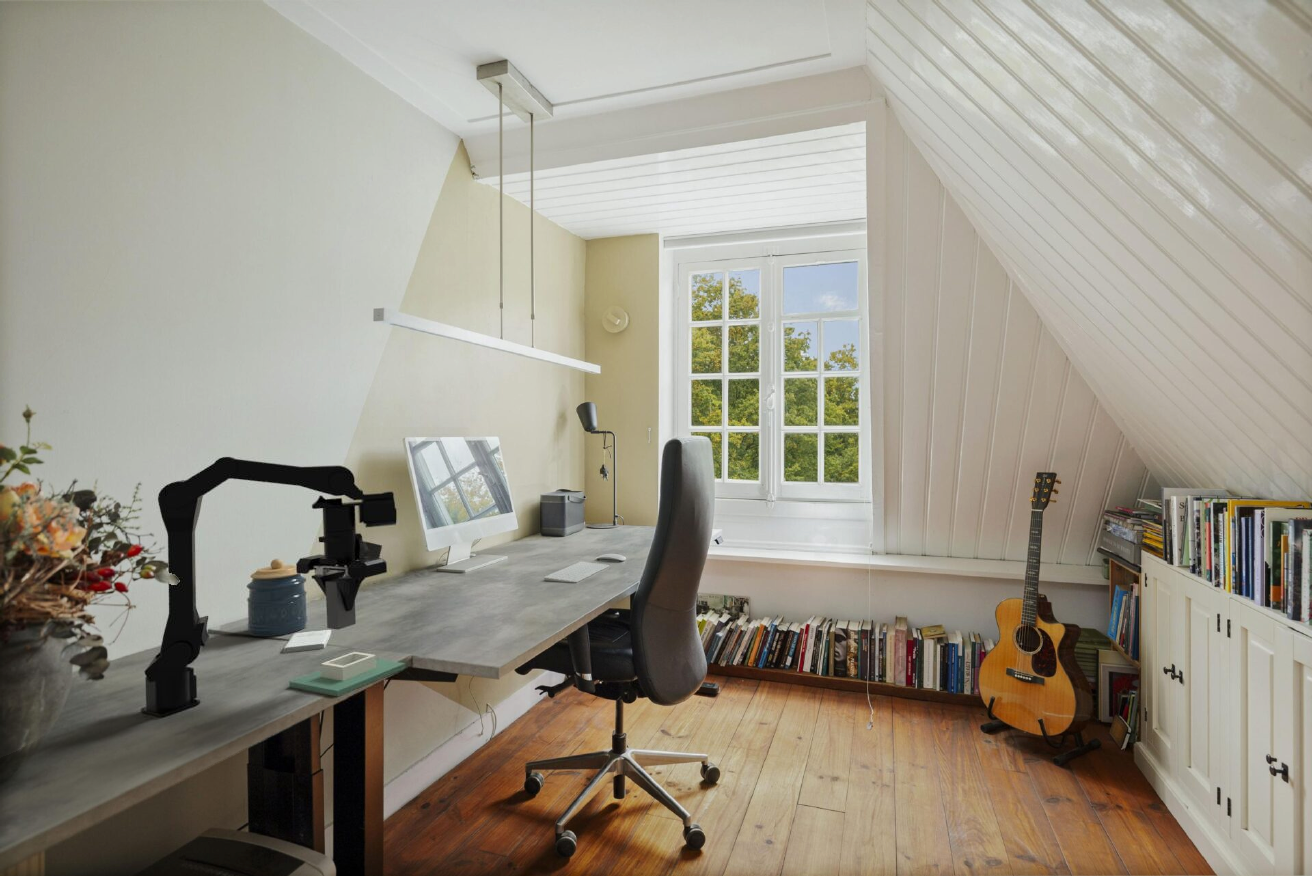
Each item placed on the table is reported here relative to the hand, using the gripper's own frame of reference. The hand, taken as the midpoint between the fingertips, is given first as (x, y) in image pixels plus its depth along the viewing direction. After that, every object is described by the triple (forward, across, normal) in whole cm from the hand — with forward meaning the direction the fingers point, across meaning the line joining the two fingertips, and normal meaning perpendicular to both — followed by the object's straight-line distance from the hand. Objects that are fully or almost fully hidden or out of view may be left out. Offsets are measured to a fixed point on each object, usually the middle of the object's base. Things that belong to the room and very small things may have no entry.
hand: (342, 610), depth 131 cm
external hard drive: (+14, +29, -14) cm, 35 cm away
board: (+13, 0, -1) cm, 13 cm away
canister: (+13, +46, -19) cm, 51 cm away
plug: (+3, 0, 0) cm, 3 cm away
